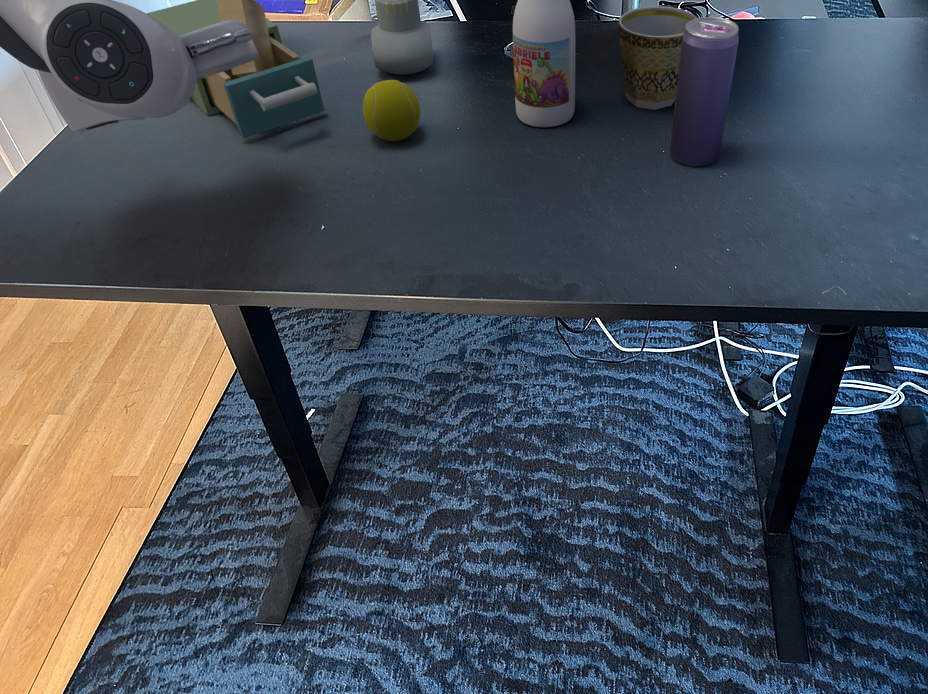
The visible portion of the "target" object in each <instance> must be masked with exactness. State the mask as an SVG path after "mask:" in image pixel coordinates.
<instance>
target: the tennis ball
mask: <svg viewBox="0 0 928 694" xmlns="http://www.w3.org/2000/svg"><path fill="white" fill-rule="evenodd" d="M362 113H363V118H364V121H365V123H366V125H367V127H368V128H369V130H370V131H371V132H372V133H373V134H374V135H375V136H376V137H378V138H379V139H382V140H385V141H389V142H399V141H402V140H405V139H407V138H408V137H410V136H412V134H414V132H416V129H418V126H419V123H420V119H421V106H420V102H419V99H418V97H417V95H416V94H415V91H414V90H413V89H412V88H411V87H410V86H409V85H408V84H406V83H405V82H401V81H400V80H397V79H386V80H382V81H378V82H375V83H374V84H373V85H372V86H371V87H370V88H368V89H367V90H366V93H365V95H364V97H363V102H362Z"/></svg>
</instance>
